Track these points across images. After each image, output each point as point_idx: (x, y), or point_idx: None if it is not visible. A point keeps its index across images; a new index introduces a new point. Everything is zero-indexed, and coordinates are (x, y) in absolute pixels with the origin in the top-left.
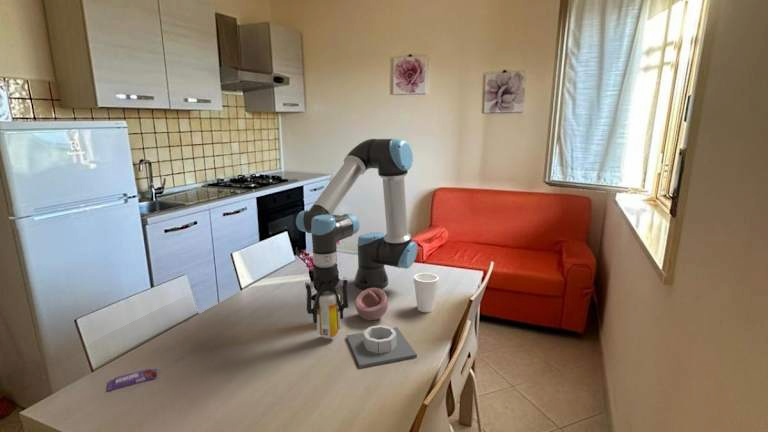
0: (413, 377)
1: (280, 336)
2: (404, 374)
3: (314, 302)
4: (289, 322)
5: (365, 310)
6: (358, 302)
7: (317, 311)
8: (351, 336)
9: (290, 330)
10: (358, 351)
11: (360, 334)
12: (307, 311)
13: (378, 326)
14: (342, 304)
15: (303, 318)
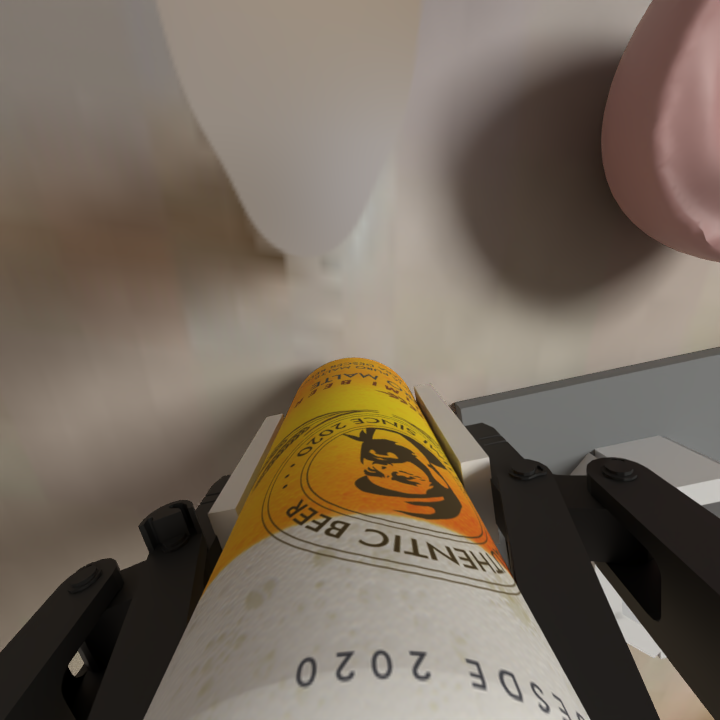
0: (681, 701)
1: (35, 342)
2: (656, 685)
3: (114, 675)
4: (32, 133)
5: (710, 244)
6: (706, 63)
7: (229, 518)
8: (489, 425)
9: (80, 267)
10: (507, 566)
11: (545, 406)
12: (90, 672)
13: (717, 492)
14: (578, 528)
15: (131, 71)
